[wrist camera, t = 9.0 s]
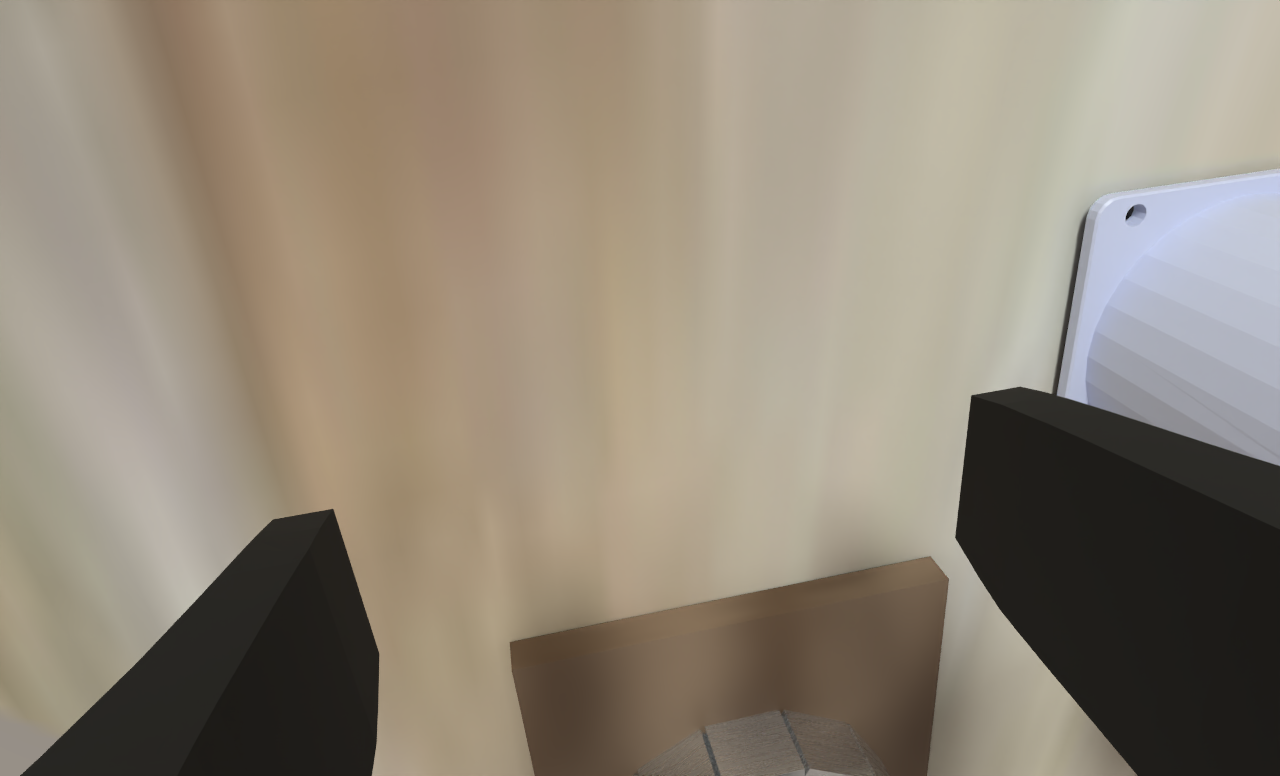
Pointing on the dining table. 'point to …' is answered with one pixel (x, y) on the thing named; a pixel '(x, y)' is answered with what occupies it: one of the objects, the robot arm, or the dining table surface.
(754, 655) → the collar board
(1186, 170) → the dining table surface
